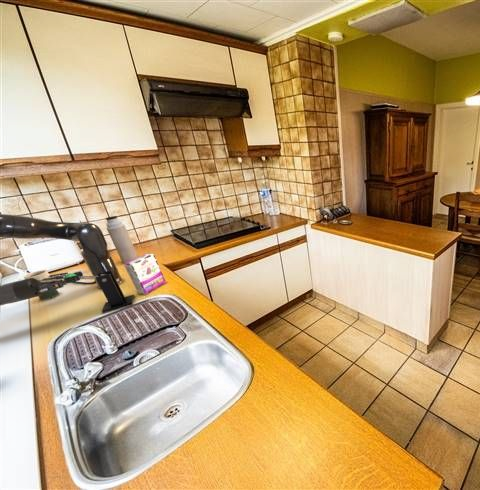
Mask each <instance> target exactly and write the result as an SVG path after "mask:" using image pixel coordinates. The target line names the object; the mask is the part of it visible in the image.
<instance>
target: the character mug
mask: <svg viewBox="0 0 480 490" xmlns="http://www.w3.org/2000/svg"><path fill="white" fill-rule="evenodd" d="M50 275H51V274H50V273H49V272H48V270H46V269H43V270H38V271H34V272H30V273H28V274H26V275H24V276H23V277H24V279H29V278H35V279H36V280H39V281H41V280H42V279H44V278H47V277H50ZM59 294H60V292H59V291H58V289H56V290H53V291H50V292H47V293H44V294H41V295H40V296H38V299H39V300H41V301H43V300H48V299H52V298H54V297H57V296H58V295H59Z"/></svg>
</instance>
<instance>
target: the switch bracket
mask: <svg viewBox="0 0 480 490" xmlns="http://www.w3.org/2000/svg"><path fill="white" fill-rule="evenodd" d="M101 274H106V275H102V276H101ZM110 274H111V275H110ZM96 280H97V282H98V284H99V286H100V288H101V289H100V290H101V291H102V293H103V295H104V297H105V299H106V302H105V303H104V305H103V307H102V309H101V313H102V314H106V313H108V312H112V311H115V310H119V309H122V308H125V307H129V306H132V305H133V303H134V299H135V295H134V294H131V295H126V296H125V294H124V292H123V291H122V288H121V287H120V284H118V282H117V280H116V278H115V276H114V274H113V272H112V270H110V271H106V272H102V273H98V277H96Z"/></svg>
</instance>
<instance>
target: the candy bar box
mask: <svg viewBox="0 0 480 490" xmlns="http://www.w3.org/2000/svg"><path fill="white" fill-rule="evenodd" d="M123 267H124V268H125V270H126V272H127V274H128V276H129V277H130V280H131V282H132V284H133V286H134V288H135V289H136V292H137V293H138V295H148V294H149V293H151V292H152V291H155V290H156V289H158V288H159V287H160V286H162V285H164V284H166V283H167V281H166V279H165V277H164V273H163V272H162V269H161V268H160V265H159V263H158V261H157V259H156V256H155V254H154V253H144V254H142V255H139V256H138V258H136V259H134V260H131V261H129V262H127V263H123Z"/></svg>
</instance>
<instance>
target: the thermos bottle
mask: <svg viewBox="0 0 480 490" xmlns="http://www.w3.org/2000/svg"><path fill="white" fill-rule="evenodd" d="M105 220H106V231H107V233H108V235H109V237H110V239H111V241H112V243H113V245H114V247H115V250H116V252H117V254H118V256H119V258H120V260H121V262H122V264H125V263H127V262H129V261H131V260H134V259H136V258H138V257H139V255H138V253H137V250H136V248H135V246H134V244H133V242H132V239H131V237H130V235H129V232H128V230H127V227H126V226H125V224H123V222H122V221H121V220H119V219H118V215H117V216H115V215H114V216H113V215H112V216H108V217H106V218H105Z"/></svg>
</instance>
